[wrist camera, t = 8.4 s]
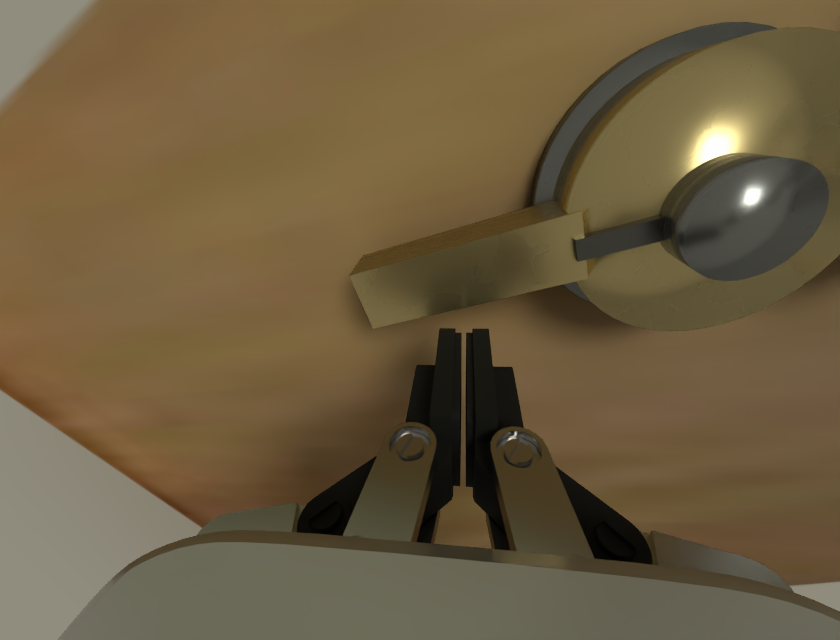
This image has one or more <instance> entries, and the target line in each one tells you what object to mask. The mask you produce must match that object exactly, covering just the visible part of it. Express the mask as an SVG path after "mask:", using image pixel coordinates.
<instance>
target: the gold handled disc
mask: <svg viewBox="0 0 840 640" xmlns="http://www.w3.org/2000/svg"><path fill="white" fill-rule="evenodd" d="M839 255H840V33H838V32H836V31H830V30H824V29H818V28H812V27H796V28H780V29H773V30H767V31H760V32H756V33H753V34H749V35H746V36H742V37H739V38H735V39H731V40H728V41H724V42H721V43H717V44H714V45H710V46H706V47H703V48H699V49H696V50H693V51H689V52H686V53H682V54H680V55H678V56H675V57H673V58H671V59H668V60H666V61H664V62H661V63H660V64H658V65H656V66H654V67H653V68H651V69H649V70H647V71H646V72H644V73H642V74H641V75H639V76H638V77H636V78H635V79H634V80H632V81H631V82H629V83H628V84H627V85H625V86H624V87H623V88H621V89H620V90H619V91H618V92H617V93H616V94H615V95H614V96H612V97H611V98H610V99H609V100H608V101H607V102H606V103H605V104H604V105H603V106H602V107H601V108H600V109H599V110H598V111H597V113H596V114H595V115H594V116H593V117H592V118H591V119H590V121H589V122H588V123H587V125H586V126H585V127H584V129H583V130H582V131H581V133H580V134H579V135H578V137H577V139H576V140H575V142H574V144H573V145H572V147H571V149H570V150H569V152H568V154H567V157H566V159H565V161H564V163H563V165H562V167H561V170H560V173H559V176H558V179H557V182H556V185H555V190H554V194H553V199H552V200H551V201H548V202H544V203H541V204H538V205H534V206H531V207H527V208H524V209H520V210H517V211H514V212H510V213H507V214H503V215H500V216H496V217H493V218H490V219H486V220H483V221H479V222H476V223H472V224H469V225H466V226H462V227H459V228H455V229H452V230H448V231H445V232H442V233H438V234H435V235H431V236H428V237H424V238H421V239H418V240H414V241H411V242H407V243H404V244H400V245H397V246H394V247H390V248H387V249H383V250H380V251H376V252H373V253H370V254H366V255H363V256H362V258H361V259H360V261H359V262H358V264H357V265H356V266H355V268H354V269H353V271H352V272H351V274H350V275H349V277H350V279H351V281H352V283H353V286H354V288H355V290H356V292H357V294H358V297H359V299H360V301H361V303H362V305H363V308H364V310H365V312H366V314H367V316H368V319H369V321H370V323H371V325H372V327H373V329H374V328H378V327H383V326H387V325H391V324H395V323H400V322H404V321H408V320H413V319H417V318H421V317H425V316H430V315H434V314H438V313H443V312H447V311H451V310H455V309H460V308H464V307H468V306H473V305H477V304H481V303H485V302H490V301H494V300H498V299H503V298H507V297H511V296H515V295H520V294H524V293H528V292H533V291H537V290H541V289H545V288H550V287H554V286H558V285H563V284H567V283H571V282H575V281H576V283H577V284H578V286H579V287H580V289H581V290H582V291H583V292H584V294H585V295H586V296H587V297H588V299H589V300H590V301H591V302H592V303H593V304H594V305H595V306H597V307H598V308H599V309H600V310H601V311H603V312H604V313H606V314H608V315H609V316H611V317H612V318H614V319H617V320H619V321H621V322H623V323H625V324H629V325H632V326H635V327H639V328H644V329H650V330H658V331H687V330H694V329H701V328H707V327H711V326H716V325H720V324H724V323H727V322H730V321H733V320H736V319H739V318H742V317H745V316H747V315H749V314H752V313H754V312H757V311H759V310H761V309H763V308H765V307H767V306H769V305H771V304H773V303H775V302H777V301H779V300H780V299H782V298H784V297H785V296H787V295H789V294H790V293H792V292H794V291H795V290H797V289H798V288H800V287H801V286H802V285H804V284H805V283H807V282H808V281H809V280H811V279H812V278H814V277H815V276H816V275H817V274H819V273H820V272H821V271H822V270H823V269H824V268H826V267H827V266H828V265H829V264H830V263H831V262H833V261H834V260H835V259H836V258H837V257H838V256H839Z"/></svg>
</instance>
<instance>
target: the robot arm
mask: <svg viewBox="0 0 840 640" xmlns="http://www.w3.org/2000/svg"><path fill="white" fill-rule="evenodd" d="M460 455H461V333H455V329H445V328H440V330H439V338H438V347H437V355H436V364H435V365H417V366H416V371H415V376H414V381H413V386H412V392H411V397H410V402H409V407H408V413H407V418H406V423H402V424H399V425H397V426H395V427H394V428H393V429H391V430H390V431H389V432H388V433H387V435H386V437H385V438H384V441H383V443H382V445H381V448H380V450H379V452H378V454H377V456H376V457H374V458H373V459H371V460H370V461H368V462H367V463H365V464H364V465H362V466H361V467H359V468H358V469H356V470H355V471H353V472H352V473H350V474H349V475H348V476H346V477H345V478H343V479H342V480H340V481H339V482H337V483H336V484H334V485H333V486H331V487H330V488H328V489H327V490H325V491H324V492H322V493H321V494H319V495H318V496H316V497H315V498H314V499H312V500H311V501H310V502H309V503H308V504H307V505H303V506H298V503H291V504H284V505H278V506H272V507H266V508H259V509H253V510H247V511H241V512H234V513H228V514H225V515H222V516H219V517H216V518H215V519H213V520H212V521H210V522H209V523H207V524H206V525H205V526H204V527H203V528H202V529H201V530H200V532H199V533H198V535H197V536H193V537H189V538H186V539H182V540H179V541H177V542H174V543H170V544H167V545H165V546H162V547H160V548H158V549H155V550H153V551H151V552H149V553H147V554H145V555H143V556H141V557H140V558H138V559H136V560H135V561H133V562H132V563H130V564H129V565H127V566H126V567H125V568H124V569H122V570H121V571H120V572H119V573H118V574H116V575H115V576H114V577H113V578H112V579H111V580H110V581H109V582H108V583H107V584H106V585H105V586H104V587H103V588H102V589H101V590H100V591H99V592H98V593H97V594H96V595H95V596H94V598H93V599H92V600H91V601H90V602H89V603H88V604H87V606H86V607H85V608H84V609H83V610H82V611H81V613H80V614H79V615H78V616H77V617H76V618H75V619H74V621H73V622H72V623H71V624H70V625H69V626H68V628H67V629H66V630H65V631H64V633H63V634H62V635H61V636H60V637H59V639H58V640H840V612H839V611H837V610H835V609H832V608H830V607H828V606H826V605H824V604H821V603H819V602H817V601H815V600H812V599H809V598H807V597H804V596H801V595H799V594H796V593H794V592H793V590H792V589H791V587H790V586H789V585H788V584H787V583H786V582H785V581H784V580H783V579H782V578H781V577H780V576H779V575H777V574H776V573H775V572H773V571H772V570H770V569H769V568H767V567H766V566H764V565H763V564H761V563H758V562H756V561H754V560H751V559H749V558H746V557H743V556H739V555H736V554H732V553H729V552H725V551H722V550H718V549H715V548H711V547H708V546H704V545H701V544H697V543H694V542H691V541H687V540H684V539H680V538H677V537H673V536H670V535H666V534H663V533H659V532H656V531H651V533H650V534H647V533H644V532H640V531H639V530H638V529H637V528H636V527H635V526H634V525H633V524H632V523H630V522H629V521H628V520H627V519H625V518H624V517H623V516H621V515H620V514H619V513H617V512H616V511H615V510H613V509H612V508H611V507H609V506H608V505H607V504H605V503H604V502H603V501H601V500H600V499H599V498H597V497H596V496H595V495H593V494H592V493H591V492H589V491H588V490H587V489H585V488H584V487H583V486H581V485H580V484H579V483H577V482H576V481H575V480H573V479H572V478H571V477H569V476H568V475H566V474H565V473H564V472H562V471H561V470H560V469H558V468H557V467H556V466H555V464H554V462H553V460H552V457H551V455H550V453H549V450H548V448H547V446H546V444H545V443H544V441H543V439H541V438H540V437H539V436H538V435H537V434H536V433H534V432H532V431H530V430H529V429H525V428H524V427H523V421H522V416H521V411H520V405H519V400H518V394H517V389H516V383H515V378H514V373H513V368H512V367H493V365H492V356H491V346H490V337H489V329H473V331H472V333H466V487H473V499H474V501H475V502H476V503H477V504H478V505H479V506H480V507H481V508H482V509H483V510H484V511H485V512H486V522H487V527H488V532H489V537H490V542H491V547H492V549H486V548H475V547H464V546H453V545H441V544H434V542H435V537H436V532H437V528H438V523H439V518H440V509H441V508H442V507H443V506H445V505H446V504H447V503H448V502H449V501H450V500H452V497H453V486H460Z"/></svg>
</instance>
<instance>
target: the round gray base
mask: <svg viewBox="0 0 840 640" xmlns="http://www.w3.org/2000/svg"><path fill="white" fill-rule="evenodd" d="M773 29H778V28H775V27H772V26H769V25H762V24H756V23H749V22H729V23H719V24H713V25H707V26H701V27H698V28H694V29H691V30H688V31H685V32H681V33H678V34H675V35H672V36H670V37H667V38H664V39H662V40H660V41H657V42H655V43H653V44H651V45H649V46H646V47H644V48H642V49H640V50H638V51H636V52H635V53H633V54H631V55H630V56H628V57H626V58H625V59H623V60H621V61H620V62H618V63H617V64H616V65H614V66H613V67H612V68H610V69H609V70H608V71H606V72H605V73H604V74H602V75H601V76H600V77H599V78H598V79H597V80H596V81H595V82H594V83H592V84H591V85H590V86H589V87H588V88H587V89H586V90H585V91H584V92H583V93H582V94H581V95H580V97H579V98H578V99H577V100H576V101H575V102H574V103H573V105H572V106H571V107H570V108H569V109H568V111H567V112H566V114H565V115H564V116H563V118H562V119H561V121H560V122H559V124H558V125H557V126H556V128H555V130H554V132H553V134H552V135H551V137H550V139H549V141H548V143H547V145H546V147H545V149H544V152H543V154H542V156H541V159H540V161H539V164H538V168H537V171H536V174H535V178H534V183H533V189H532V195H531V206H534V205H538V204H541V203H544V202H548V201H551V200H552V199H553V194H554V190H555V185H556V182H557V179H558V176H559V173H560V170H561V167H562V165H563V163H564V161H565V159H566V157H567V154H568V152H569V150H570V149H571V147H572V145H573V144H574V142H575V140H576V139H577V137H578V135H579V134H580V133H581V131H582V130H583V129H584V127H585V126H586V125H587V123H588V122H589V121H590V119H591V118H592V117H593V116H594V115H595V114H596V113H597V111H598V110H599V109H600V108H601V107H602V106H603V105H604V104H605V103H606V102H607V101H608V100H609V99H610V98H611V97H612V96H614V95H615V94H616V93H617V92H618V91H619V90H620V89H621V88H623V87H624V86H625V85H627V84H628V83H629V82H631V81H632V80H634V79H635V78H636V77H638V76H639V75H641V74H642V73H644V72H646V71H647V70H649V69H651V68H653V67H654V66H656V65H658V64H660V63H661V62H664V61H666V60H668V59H671V58H673V57H675V56H678V55H680V54H682V53H686V52H689V51H693V50H696V49H699V48H703V47H706V46H710V45H714V44H717V43H721V42H724V41H728V40H731V39H735V38H739V37H742V36H746V35H749V34H753V33H756V32H760V31H767V30H773ZM563 285H564V286H565V287H566V288H567V289H569V290H570V291H571V292H573V293H574V294H576V295H577V296H579V297H581V298H582V299H584V300H587V301H589V302H591V301H590V300H589V299H588V297H587V296H586V295H585V294H584V292H583V291H582V290H581V289H580V287H579V286H578V284H577V283H576V281H575V282H571V283H567V284H563ZM591 303H592V302H591Z"/></svg>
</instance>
